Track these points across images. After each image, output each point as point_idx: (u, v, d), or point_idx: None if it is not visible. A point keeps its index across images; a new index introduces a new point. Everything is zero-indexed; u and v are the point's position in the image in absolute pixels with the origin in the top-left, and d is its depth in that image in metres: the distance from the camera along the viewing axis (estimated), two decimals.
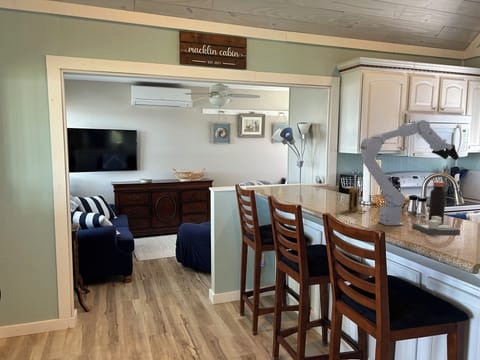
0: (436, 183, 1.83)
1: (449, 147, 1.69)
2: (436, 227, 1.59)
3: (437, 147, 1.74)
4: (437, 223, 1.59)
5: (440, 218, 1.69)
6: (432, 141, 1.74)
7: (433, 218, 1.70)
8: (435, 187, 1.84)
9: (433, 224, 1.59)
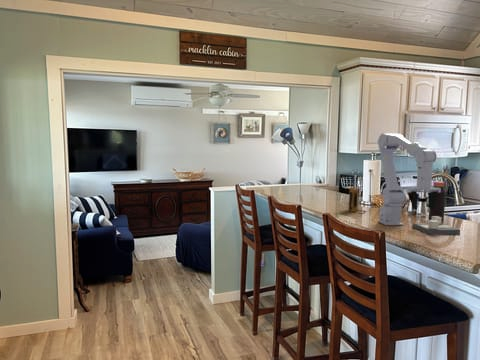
0: (436, 183, 1.83)
1: (407, 189, 1.58)
2: (436, 227, 1.59)
3: None
4: (437, 223, 1.59)
5: (440, 218, 1.69)
6: (417, 176, 1.59)
7: (433, 218, 1.70)
8: (435, 187, 1.84)
9: (433, 224, 1.59)
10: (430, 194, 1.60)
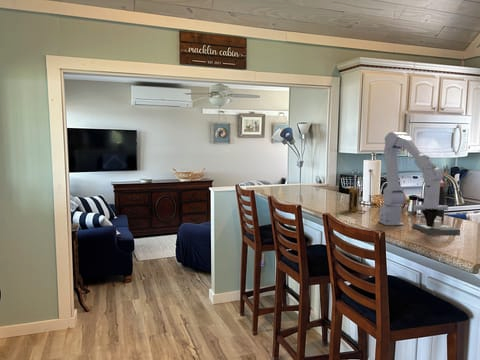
0: None
1: (414, 207, 1.59)
2: (438, 227, 1.59)
3: None
4: (439, 223, 1.59)
5: (440, 218, 1.69)
6: (424, 194, 1.60)
7: None
8: None
9: (435, 224, 1.59)
10: None
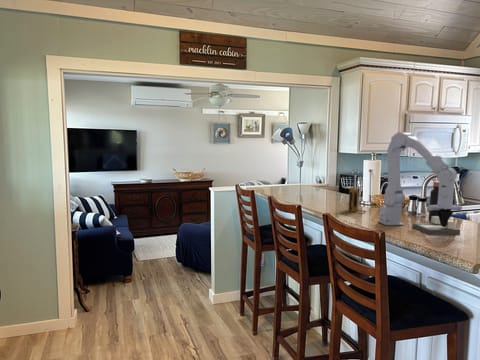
0: (436, 183, 1.83)
1: (428, 207, 1.60)
2: (452, 227, 1.60)
3: None
4: (453, 223, 1.60)
5: None
6: (439, 194, 1.60)
7: (433, 218, 1.70)
8: (435, 187, 1.84)
9: (449, 224, 1.60)
10: None
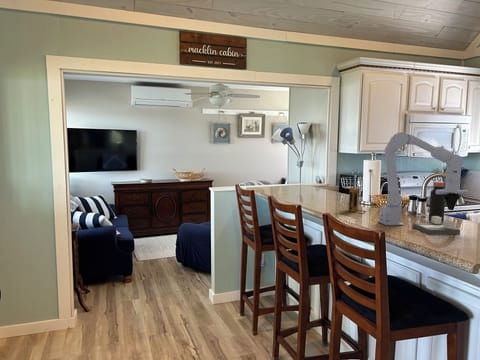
0: (436, 183, 1.83)
1: (436, 191, 1.69)
2: (451, 227, 1.60)
3: None
4: (452, 223, 1.60)
5: (440, 218, 1.69)
6: (449, 179, 1.67)
7: (433, 218, 1.70)
8: (435, 187, 1.84)
9: (448, 224, 1.60)
10: None
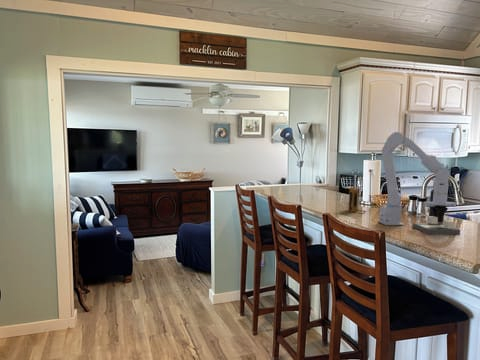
0: None
1: (424, 203, 1.69)
2: (451, 227, 1.60)
3: None
4: (452, 223, 1.60)
5: (436, 218, 1.68)
6: (436, 192, 1.68)
7: (429, 218, 1.70)
8: None
9: (448, 224, 1.60)
10: None
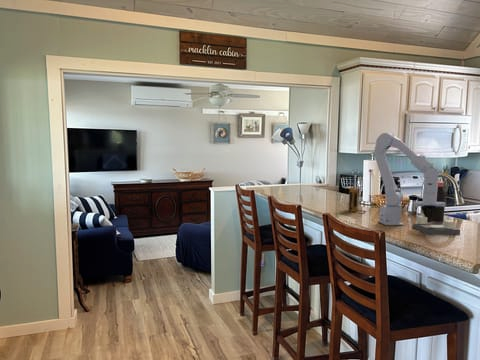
0: None
1: (413, 203, 1.69)
2: (451, 227, 1.60)
3: None
4: (452, 223, 1.60)
5: (426, 218, 1.68)
6: (425, 191, 1.68)
7: (419, 218, 1.69)
8: None
9: (448, 224, 1.60)
10: None
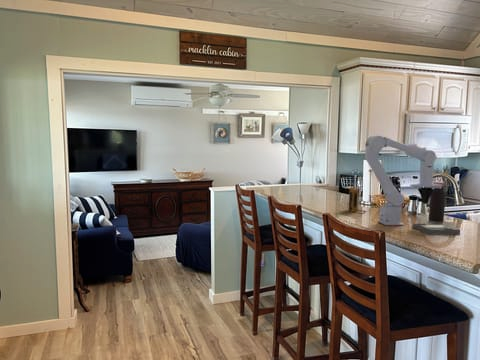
0: (436, 183, 1.83)
1: (410, 186, 1.76)
2: (451, 227, 1.60)
3: None
4: (452, 223, 1.60)
5: (426, 218, 1.68)
6: (424, 174, 1.73)
7: (419, 218, 1.69)
8: None
9: (448, 224, 1.60)
10: None
